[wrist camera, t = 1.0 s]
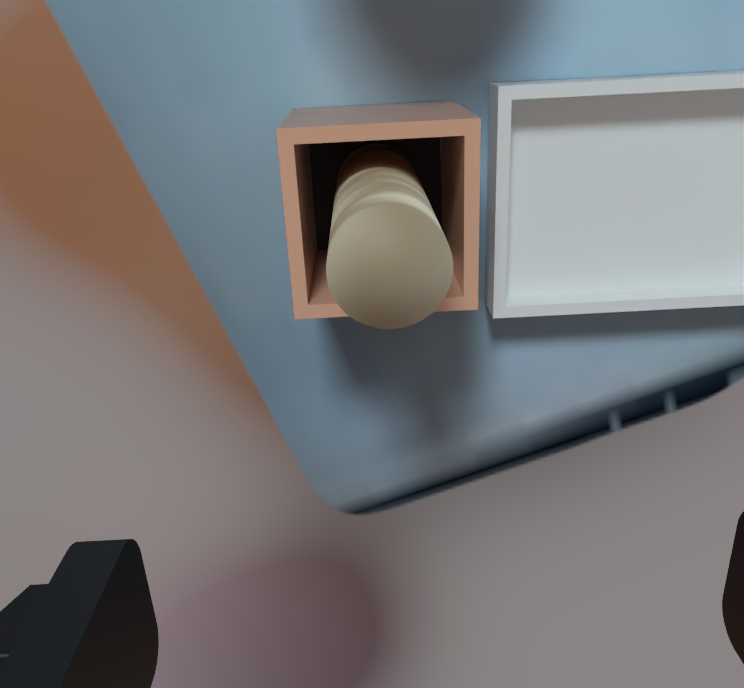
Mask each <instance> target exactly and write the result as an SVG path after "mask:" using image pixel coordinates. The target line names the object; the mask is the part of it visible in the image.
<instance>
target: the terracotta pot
mask: <svg viewBox="0 0 744 688" xmlns="http://www.w3.org/2000/svg"><path fill="white" fill-rule="evenodd" d="M276 134H277V144H278V154H279V164H280V174H281V185H282V195H283V205H284V215H285V225H286V235H287V245H288V256H289V266H290V276H291V286H292V296H293V306H294V316H295V319H311V318H330V317H349V316H348V315H347V314H346V313H345V312H344V311H343V310H342V309H341V308H340V307H339V305H338V304H337V303H336V301H335V300H334V298H333V296H332V294H331V292H330V290H329V286H328V283H327V277H326V262H327V254H328V250H324V251H317V238H316V226H315V214H314V201H313V189H312V177H311V164H310V152H309V144H313V143H332V142H351V141H370V140H390V139H409V138H428V137H441V229H442V231H443V233H444V235H445V237H446V239H447V242H448V244H449V247H450V249H451V253H452V258H453V277H452V282H451V285H450V288H449V291H448V293H447V295H446V297H445V298H444V300H443V301H442V303H441V304H440V305H439V307H438V308H437V309H436V310H435V311H434V312H444V311H463V310H478V280H479V212H480V143H481V118H480V117H478V116H477V115H475V114H474V113H472V112H470V111H469V110H467V109H466V108H464V107H462V106H461V105H459V104H458V103H456V102H454V101H435V102H415V103H396V104H377V105H358V106H338V107H319V108H300V109H293V110H292V111H291V112H290V113H289V114H288V115H287V117H286V118H285V119H284V120H283V121H282V122H281V124H280V125H279V126H278V127H277V128H276Z"/></svg>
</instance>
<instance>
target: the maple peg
mask: <svg viewBox="0 0 744 688" xmlns="http://www.w3.org/2000/svg"><path fill="white" fill-rule="evenodd" d="M326 277H327V283H328V286H329V290H330V292H331V294H332V296H333V298H334V300H335V301H336V303H337V304H338V305H339V307H340V308H341V309H342V310H343V311H344V312H345V313H346V314H347V315H348V316H350V317H351V318H352V319H354V320H356V321H357V322H359V323H361V324H364V325H366V326H369V327H373V328H378V329H400V328H404V327H408V326H411V325H414V324H416V323H418V322H420V321H422V320H424V319H425V318H426V317H428V316H429V315H430V314H432V313H433V312H434V311H435V310H436V309H437V308H438V307H439V305H440V304H441V303H442V301H443V300H444V298H445V297H446V295H447V293H448V291H449V288H450V285H451V282H452V277H453V258H452V253H451V249H450V247H449V244H448V242H447V239H446V237H445V235H444V233H443V231H442V229H441V226H440V224H439V222H438V220H437V218H436V216H435V213H434V211H433V209H432V207H431V205H430V202H429V200H428V198H427V196H426V194H425V192H424V189H423V187H422V185H421V183H420V181H419V178H418V176H417V174H416V172H415V170H414V168H413V166H412V164H411V162H410V161H409V159H408V158H407V157H406V156H405V155H404V154H403V153H402V152H401V151H399V150H398V149H396V148H394V147H392V146H389V145H385V144H369V145H365V146H362V147H360V148H358V149H356V150H354V151H353V152H352V153H351V154H350V155H349V156H348V157H347V158H346V159H345V160H344V162H343V163H342V165H341V167H340V169H339V172H338V176H337V182H336V190H335V198H334V206H333V214H332V222H331V230H330V238H329V246H328V254H327V262H326Z"/></svg>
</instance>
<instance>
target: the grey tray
mask: <svg viewBox="0 0 744 688" xmlns="http://www.w3.org/2000/svg"><path fill="white" fill-rule="evenodd" d="M485 303H486V305H487V307H488V309H489V311H490V313H491V315H492V317H493V319H494V318H513V317H532V316H551V315H570V314H589V313H608V312H627V311H646V310H665V309H684V308H703V307H722V306H741V305H744V70H730V71H711V72H692V73H673V74H653V75H634V76H615V77H596V78H576V79H557V80H538V81H518V82H499V83H489V107H488V161H487V215H486V269H485Z"/></svg>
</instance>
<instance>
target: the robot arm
mask: <svg viewBox="0 0 744 688" xmlns="http://www.w3.org/2000/svg"><path fill="white" fill-rule="evenodd" d="M722 601H723V602H722V609H723V618H724V623H725V627H726V630H727V634H728V636H729V639H730V641H731V643H732V645H733V647H734V649H735V651H736V652H737V654H738V656H739V657H740V659H741V660H742V662H743V664H744V512H743V513H742V514H741V516H740V518H739V520H738V524H737V529H736V534H735V539H734V544H733V549H732V554H731V558H730V564H729V569H728V573H727V579H726V584H725V588H724V593H723V600H722ZM157 657H158V627H157V622H156V617H155V613H154V609H153V604H152V600H151V595H150V591H149V586H148V582H147V577H146V573H145V569H144V564H143V560H142V555H141V551H140V548H139V546H138V544H137V542H136V541H135V540H133V539H125V540H105V541H86V542H75V543H74V544H72V545H71V546H70V547H69V549H68V550H67V552H66V554H65V556H64V557H63V559H62V561H61V563H60V564H59V566H58V568H57V570H56V572H55V573H54V575H53V577H52V579H51V580H50V582H49V584H41V585H30V586H29V587H28V588H26V589H25V590H24V591H23V592H22V593H21V594H20V595H19V596H17V597H16V598H15V599H14V600H13V601H12V602H11V603H10V604H8V605H7V606H6V607H5V608H4V609H3V610H2V611H1V612H0V688H150V687H151V684H152V681H153V678H154V674H155V670H156V665H157Z"/></svg>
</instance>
